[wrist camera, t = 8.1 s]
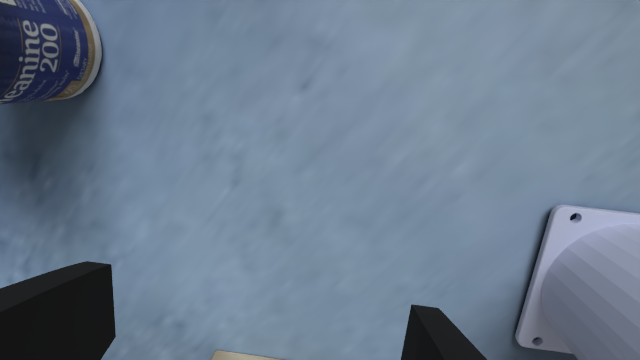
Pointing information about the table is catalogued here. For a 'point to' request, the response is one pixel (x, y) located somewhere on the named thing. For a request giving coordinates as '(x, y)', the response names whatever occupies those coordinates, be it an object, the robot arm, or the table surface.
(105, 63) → the table surface
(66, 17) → the pill bottle
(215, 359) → the birch plinth
